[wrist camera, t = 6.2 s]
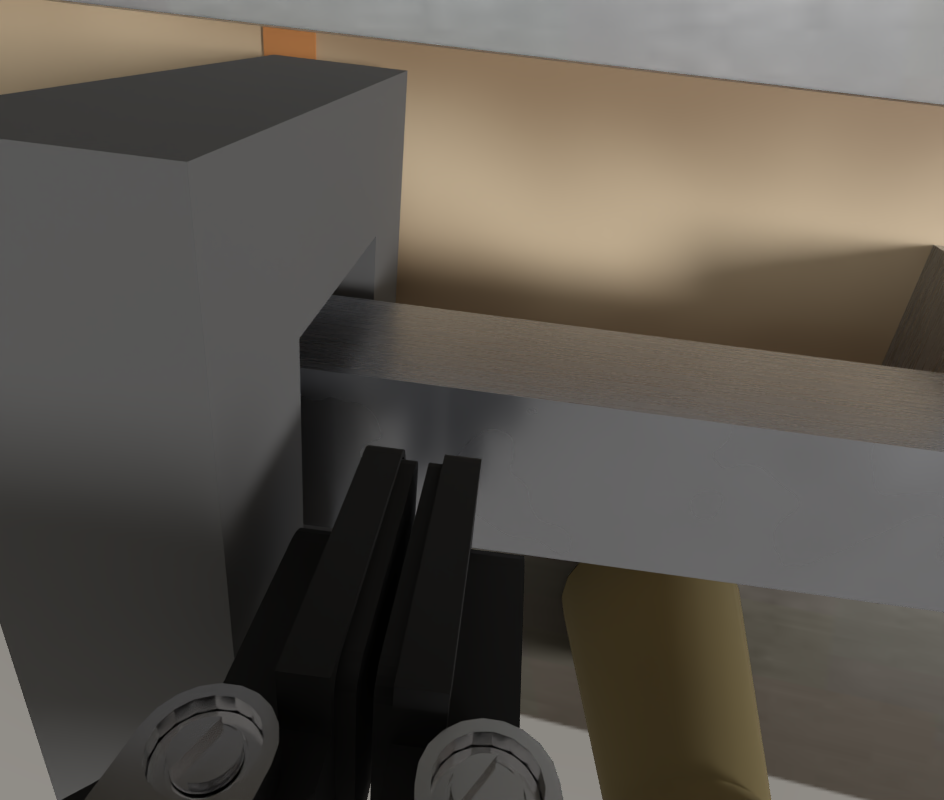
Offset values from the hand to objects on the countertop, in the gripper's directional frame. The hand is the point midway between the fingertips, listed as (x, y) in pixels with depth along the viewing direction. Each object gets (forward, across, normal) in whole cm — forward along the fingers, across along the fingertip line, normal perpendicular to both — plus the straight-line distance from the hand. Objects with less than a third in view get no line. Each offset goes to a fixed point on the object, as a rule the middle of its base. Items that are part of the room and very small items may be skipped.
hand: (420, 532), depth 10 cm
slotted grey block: (+9, +3, 0) cm, 9 cm away
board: (+10, 0, 0) cm, 10 cm away
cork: (+10, -7, +11) cm, 16 cm away
